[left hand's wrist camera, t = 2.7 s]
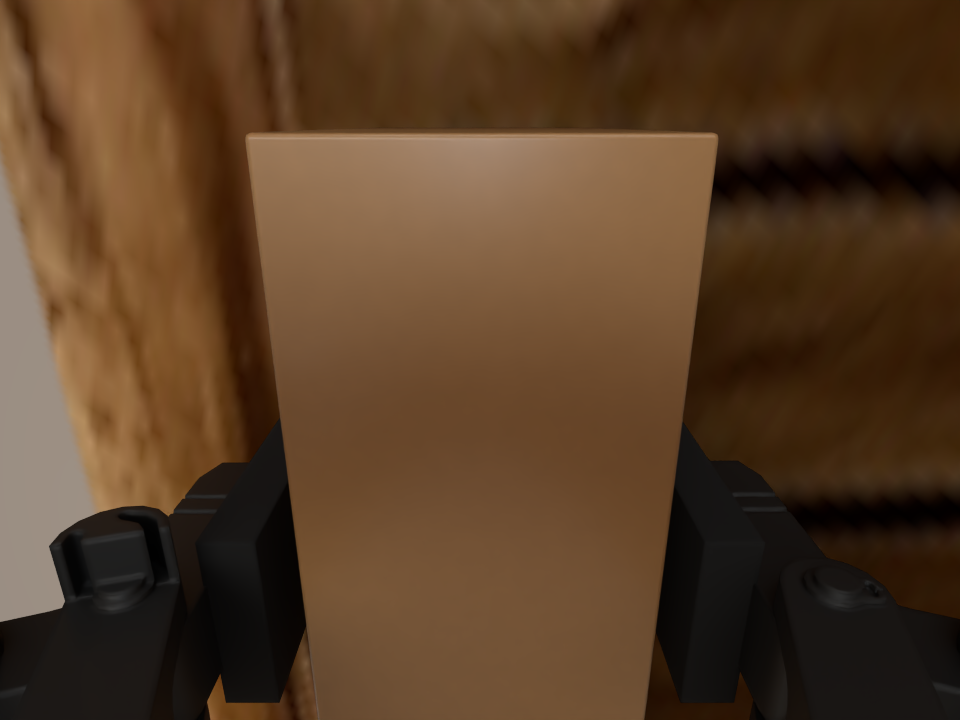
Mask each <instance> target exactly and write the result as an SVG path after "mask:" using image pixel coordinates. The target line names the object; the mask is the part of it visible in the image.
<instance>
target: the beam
mask: <svg viewBox="0 0 960 720" xmlns="http://www.w3.org/2000/svg"><path fill="white" fill-rule="evenodd" d="M245 141H246V149H247V157H248V165H249V173H250V181H251V189H252V197H253V205H254V213H255V221H256V229H257V237H258V245H259V253H260V261H261V268H262V276H263V284H264V292H265V300H266V308H267V316H268V324H269V332H270V340H271V348H272V356H273V364H274V372H275V380H276V388H277V396H278V404H279V412H280V419H281V427H282V435H283V443H284V451H285V459H286V467H287V475H288V483H289V491H290V499H291V507H292V515H293V523H294V531H295V539H296V547H297V555H298V563H299V570H300V578H301V586H302V594H303V602H304V610H305V618H306V626H307V634H308V642H309V650H310V658H311V666H312V674H313V682H314V690H315V698H316V706H317V714H318V720H644V718H645V710H646V703H647V695H648V687H649V679H650V671H651V663H652V656H653V648H654V640H655V632H656V624H657V617H658V609H659V601H660V593H661V585H662V577H663V570H664V562H665V554H666V546H667V538H668V530H669V523H670V515H671V507H672V499H673V491H674V484H675V476H676V468H677V460H678V452H679V444H680V437H681V429H682V421H683V413H684V405H685V397H686V390H687V382H688V374H689V366H690V358H691V351H692V343H693V335H694V327H695V319H696V311H697V304H698V296H699V288H700V280H701V272H702V264H703V257H704V249H705V241H706V233H707V225H708V218H709V210H710V202H711V194H712V186H713V178H714V171H715V163H716V155H717V147H718V135H717V134H715V133H711V132H684V131H657V130H630V129H603V128H359V129H332V130H306V131H279V132H253V133H249V134H247V135H246V138H245Z"/></svg>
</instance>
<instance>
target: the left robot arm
mask: <svg viewBox="0 0 960 720" xmlns="http://www.w3.org/2000/svg"><path fill="white" fill-rule="evenodd" d="M49 548H50V551H51V554H52V558H53V561H54V565H55V568H56V571H57V575H58V578H59V581H60V585H61V588H62V592H63V595H64V599H65V603H64V605H63V607H62V608H61V609H57V610H53V611H50V612H45V613H40V614H36V615H31V616H26V617H22V618H17V619H12V620H8V621H3V622H0V720H210V714H209V709H208V705H207V700H208V698H209V696H210V694H211V692H212V690H213V688H214V686H215V683H216V681H217V679H218V677H219V675H220V674H221V679H222V684H223V690H224V695H225V700H226V703H279V702H280V700H281V697H282V694H283V691H284V688H285V685H286V682H287V679H288V676H289V674H290V671H291V668H292V665H293V662H294V659H295V656H296V653H297V651H298V648H299V645H300V642H301V639H302V636H303V633H304V630H305V627H306V618H305V610H304V602H303V594H302V586H301V578H300V570H299V563H298V555H297V547H296V539H295V531H294V523H293V515H292V507H291V499H290V491H289V483H288V475H287V467H286V459H285V451H284V443H283V435H282V427H281V419H280V418H279V420H278V421H277V423H276V424H275V426H274V427H273V429H272V430H271V432H270V433H269V435H268V436H267V438H266V439H265V441H264V442H263V443H262V445H261V446H260V448H259V449H258V451H257V452H256V454H255V455H254V457H253V458H252V460H251V461H250V463H222V464H220V465H218V466H217V467H215V468H214V469H212V470H211V471H209V472H208V473H206V474H204V475H203V476H201V477H200V478H199V479H198V480H197V481H196V483H195V484H194V485H193V486H192V488H191V489H190V490H189V492H188V493H187V494H186V495H185V499H182V500H181V502H180V503H179V504H178V505H177V507H176V508H175V509H174V513H173V514H170V515H169V517H168V516H167V515H166V514H164V513H163V512H162V511H161V510H159V509H156V508H151V507H146V506H130V507H120V508H116V509H112V510H107V511H103V512H99V513H97V514H95V515H92V516H90V517H88V518H85V519H83V520H80V521H78V522H77V523H75V524H74V525H72V526H71V527H69V528H67V529H66V530H64V531H63V532H61V533H60V534H59V535H58V536H57V538H56V539H55V540H54V541H53V542H52V543H51V545H50V546H49ZM656 633H657V636H658V639H659V642H660V645H661V648H662V650H663V653H664V656H665V659H666V662H667V665H668V668H669V671H670V674H671V676H672V679H673V682H674V685H675V688H676V691H677V694H678V697H679V700H680V702H681V703H734V700H735V695H736V690H737V685H738V679H739V674H740V672H741V674H742V676H743V678H744V680H745V682H746V684H747V686H748V689H749V691H750V693H751V695H752V697H753V699H754V700H753V705H752V709H751V714H750V719H749V720H960V619H956V618H951V617H947V616H942V615H937V614H933V613H928V612H923V611H919V610H914V609H910V608H906V607H903V606H899V605H897V604H896V602H895V600H894V598H893V597H892V596H891V594H890V593H889V592H888V590H887V589H886V588H885V586H884V585H882V584H881V583H880V582H878V581H877V580H876V579H874V578H873V577H872V576H870V575H869V574H868V573H866V572H864V571H862V570H860V569H858V568H855V567H853V566H851V565H849V564H847V563H844V562H840V561H836V560H833V559H829V558H826V556H825V555H824V554H823V553H822V551H821V550H820V549H819V548H818V546H817V545H816V544H815V543H814V541H813V540H812V539H811V538H810V536H809V535H808V534H807V533H806V531H805V530H804V529H803V528H802V526H801V525H800V524H799V523H798V521H797V520H796V519H795V518H794V516H793V515H792V514H791V513H790V512H787V508H786V506H785V505H784V504H783V503H782V501H781V500H780V499H779V498H778V497H775V493H774V491H773V490H772V489H771V488H770V486H769V485H768V484H767V483H766V481H765V480H764V479H763V478H762V476H761V475H759V474H758V473H756V472H754V471H753V470H751V469H750V468H748V467H747V466H745V465H744V464H742V463H740V462H739V461H709V460H708V458H707V457H706V455H705V454H704V452H703V451H702V449H701V448H700V446H699V445H698V443H697V442H696V441H695V439H694V438H693V436H692V435H691V433H690V432H689V430H688V429H687V427H686V426H685V424H684V423H683V421H682V429H681V437H680V444H679V452H678V460H677V468H676V476H675V484H674V491H673V499H672V507H671V515H670V523H669V530H668V538H667V546H666V554H665V562H664V570H663V577H662V585H661V593H660V601H659V609H658V617H657V624H656Z"/></svg>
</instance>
